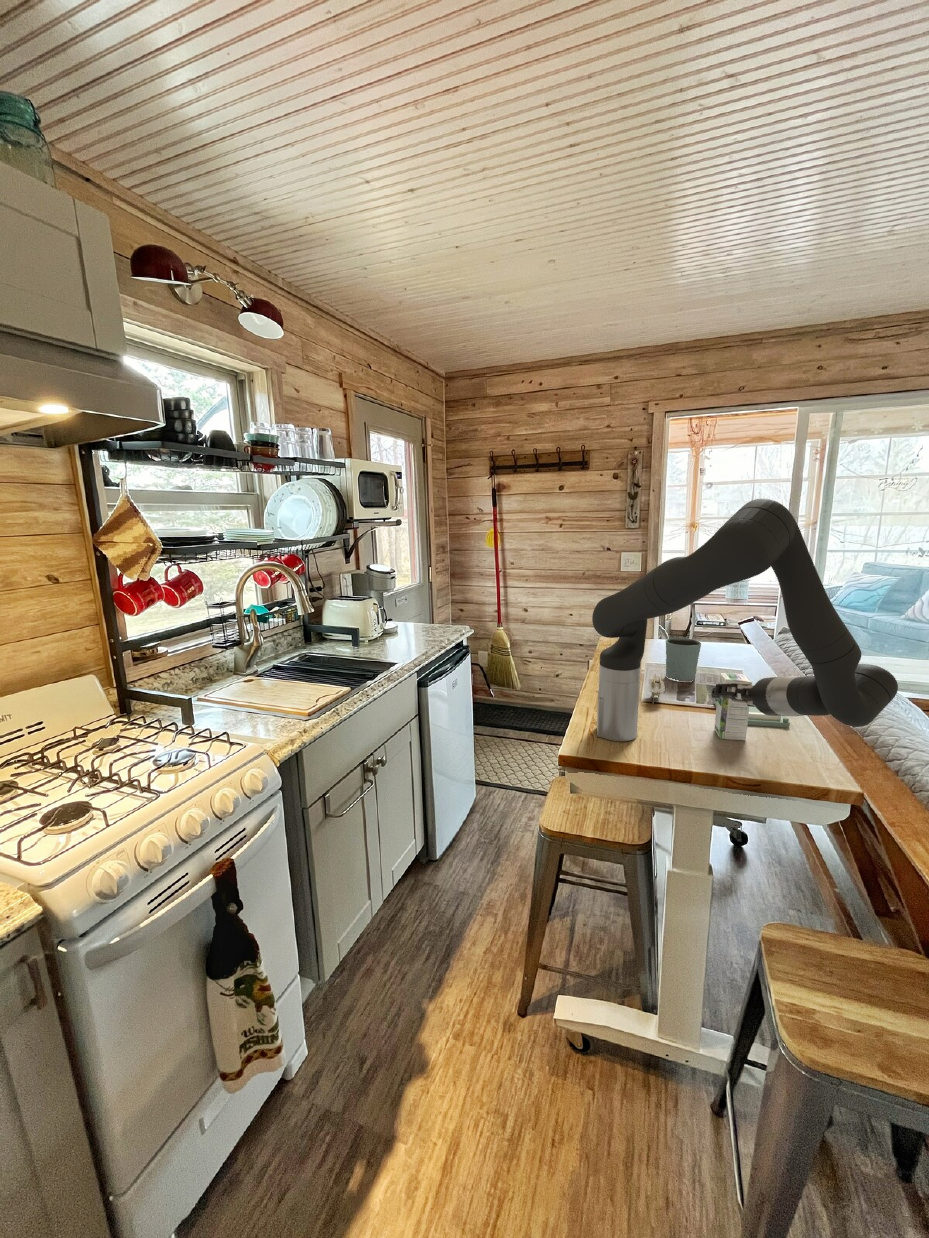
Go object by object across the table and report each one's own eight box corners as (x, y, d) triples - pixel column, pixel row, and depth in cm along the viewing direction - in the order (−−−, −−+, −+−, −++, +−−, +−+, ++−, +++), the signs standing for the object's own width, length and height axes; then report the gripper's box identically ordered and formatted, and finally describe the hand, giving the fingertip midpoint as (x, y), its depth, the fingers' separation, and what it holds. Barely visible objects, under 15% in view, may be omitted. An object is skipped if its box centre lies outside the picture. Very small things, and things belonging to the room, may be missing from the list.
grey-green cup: (657, 678, 165) (659, 641, 162) (672, 671, 172) (675, 635, 169) (689, 685, 158) (692, 647, 155) (703, 678, 164) (706, 641, 162)
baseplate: (726, 723, 130) (727, 714, 130) (713, 703, 143) (714, 694, 143) (789, 727, 127) (790, 718, 126) (769, 706, 140) (770, 698, 140)
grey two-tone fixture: (675, 693, 153) (677, 671, 152) (681, 716, 136) (683, 692, 135) (633, 689, 157) (634, 668, 155) (633, 711, 140) (634, 688, 138)
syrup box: (713, 729, 127) (718, 672, 124) (739, 730, 126) (745, 673, 123) (719, 739, 121) (724, 679, 118) (747, 741, 120) (753, 681, 117)
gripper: (748, 707, 99) (699, 707, 114) (817, 723, 100) (758, 721, 116) (753, 668, 100) (703, 673, 116) (820, 685, 101) (762, 687, 117)
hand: (731, 697), depth 116 cm, fingers open, 8 cm apart
